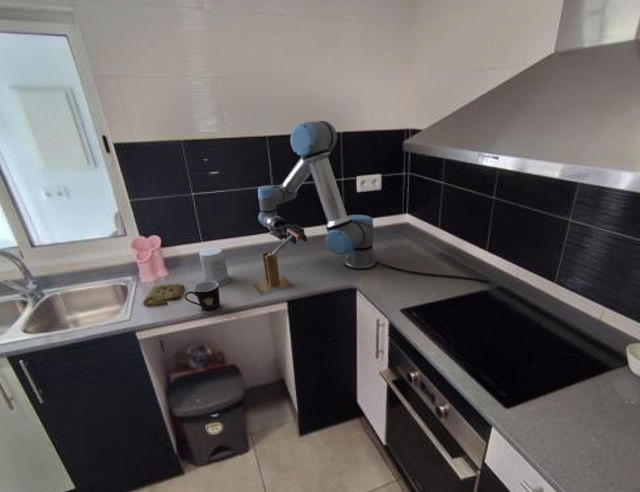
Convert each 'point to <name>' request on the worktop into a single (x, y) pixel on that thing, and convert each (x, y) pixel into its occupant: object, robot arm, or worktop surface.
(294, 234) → the lever
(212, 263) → the supplement tub
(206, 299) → the coffee mug
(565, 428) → the worktop surface
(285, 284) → the bracket
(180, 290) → the pastry
